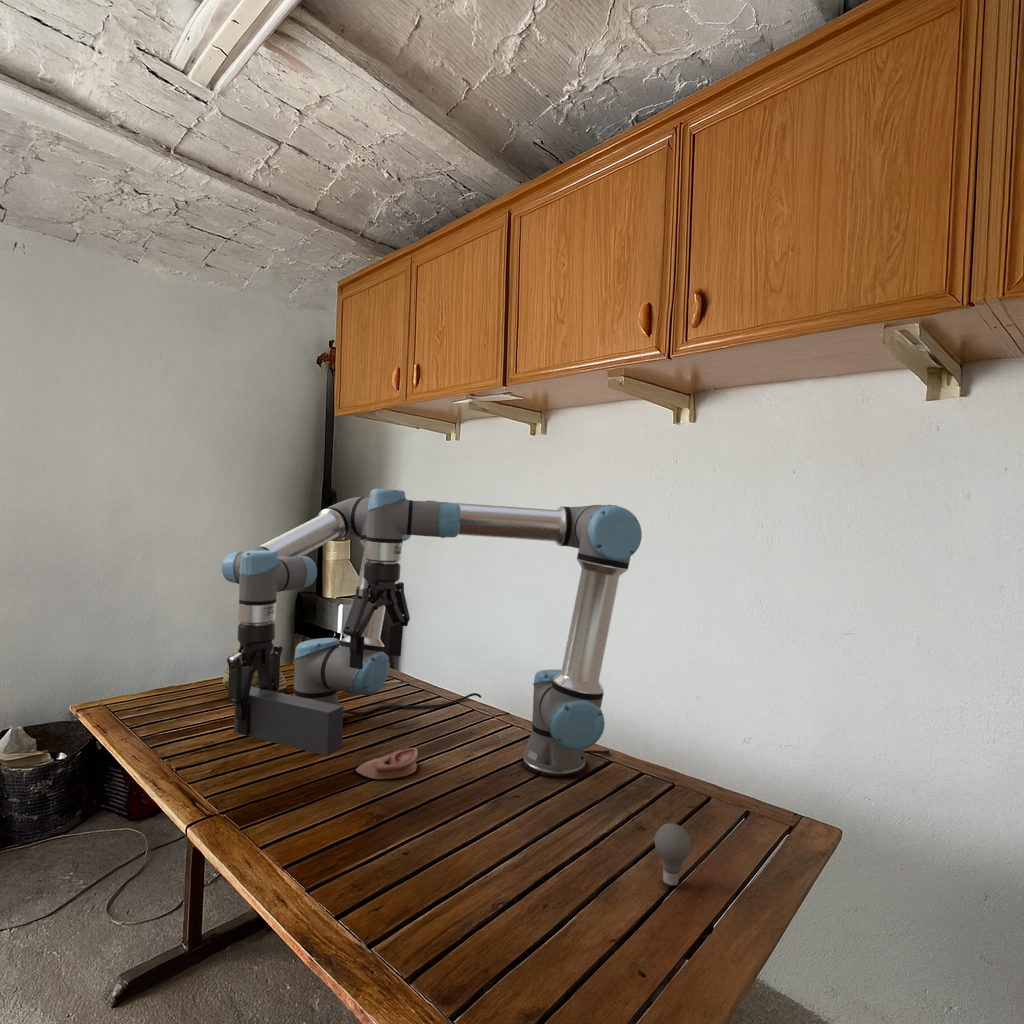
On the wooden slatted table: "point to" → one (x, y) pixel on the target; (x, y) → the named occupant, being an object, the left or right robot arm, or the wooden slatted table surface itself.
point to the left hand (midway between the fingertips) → (253, 729)
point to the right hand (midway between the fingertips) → (376, 661)
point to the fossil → (255, 678)
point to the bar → (294, 721)
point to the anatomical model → (390, 765)
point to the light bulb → (672, 850)
